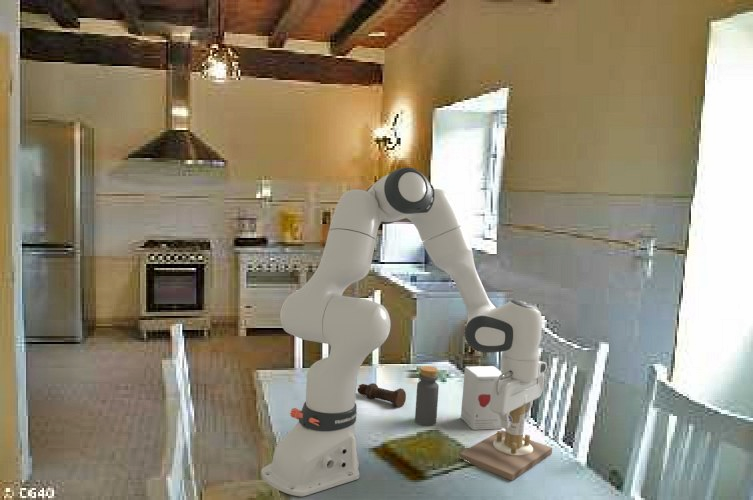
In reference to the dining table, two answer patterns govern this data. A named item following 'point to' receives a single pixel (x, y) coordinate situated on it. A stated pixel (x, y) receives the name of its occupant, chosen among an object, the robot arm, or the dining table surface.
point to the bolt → (383, 394)
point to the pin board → (506, 455)
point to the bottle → (427, 396)
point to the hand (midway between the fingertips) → (515, 422)
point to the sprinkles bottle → (516, 426)
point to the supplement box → (479, 397)
